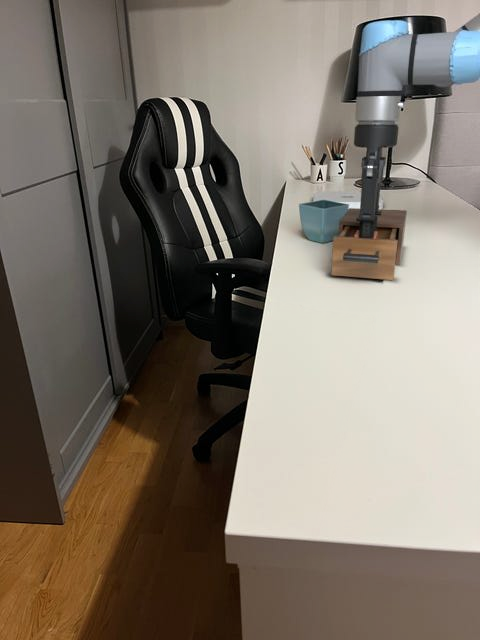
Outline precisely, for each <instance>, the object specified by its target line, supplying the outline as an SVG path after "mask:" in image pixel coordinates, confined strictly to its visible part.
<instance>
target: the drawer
mask: <svg viewBox="0 0 480 640" xmlns="http://www.w3.org/2000/svg"><path fill="white" fill-rule="evenodd" d="M359 227H360V226H350V225H346V227H345V228H344V230H343V231H342V233H341V234H340V236H334V238H333V241H332V257H331V276H337V277H338V276H339V277H348V278H349V277H350V278H362V279H373V280H374V279H375V280H385V281H387V280H388V281H394V279H395V269H396V265H395V261H396V251H397V242H398V240H396V234H397V228H389V227H376V232H378V236H377V239H373V238H356V237H354V235H355V233H356V232H357V230H359Z"/></svg>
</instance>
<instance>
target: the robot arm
mask: <svg viewBox="0 0 480 640" xmlns="http://www.w3.org/2000/svg"><path fill="white" fill-rule="evenodd" d="M479 79H480V12H479V13H478V14H477V15H475V16H474V17H472V18H471V19H470V20H468V21H467V22H465V24H463V25H461V27H459V28H457V29H456V30H454V31H447V32H433V33H422V34H418V33H416V34H415V33H410V29H409V23H408V22H407V21H406V20H401V19H400V20H398V19H397V20H396V19H395V20H378V21H373V22H370V23H368V24H366V25H365V26H364V28H363V29H362V33H361V43H360V50H359V53H358V75H357V94H356V101H355V115H354V121H356V122H358V123H357V124H356V125H355V126H354V133H353V134H354V135H353V137H354V139H353V146H354V147H356V148H366V151H365V152H366V154H365V156H363V157H362V158H361V162H360V163H361V164H360V165H361V180H360V182H361V191H360V192H361V203H360V215H359V218H356V221H358V222H360V227H359V238H373V239H374V231H376V227H377V216H375V215H380V216H381V212H382V211H378V209H379V197H380V195H381V185H382V181H383V178H384V169H385V166H386V158H387V157H386V156H384V157H383V149H384V148H386V149H387V148H394V147H396V146H397V145H398V138H399V137H398V136H399V129H400V128H399V126H398V125H399V124H396V122H398V121H399V120H400V115H401V114H400V113H401V110H400V109H403V108H404V107H405V102H404V101H401V100H402V96H403V89H404V88H403V87H404V86H414V85H415V86H420V85H421V86H423V85H432V86H434V87H437V88H448V87H451V86H452V87H453V85H456V86H457V85H462V84H472V83H477V81H479Z"/></svg>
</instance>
